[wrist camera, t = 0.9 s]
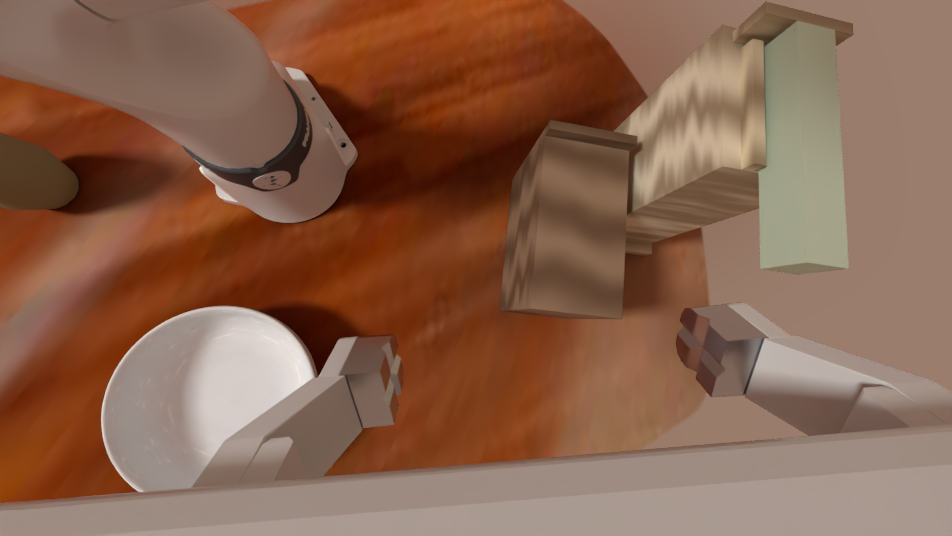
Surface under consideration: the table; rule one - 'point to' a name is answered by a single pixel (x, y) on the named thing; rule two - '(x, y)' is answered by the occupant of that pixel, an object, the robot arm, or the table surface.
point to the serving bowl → (196, 391)
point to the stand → (706, 132)
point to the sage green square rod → (802, 155)
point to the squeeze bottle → (33, 177)
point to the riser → (568, 225)
